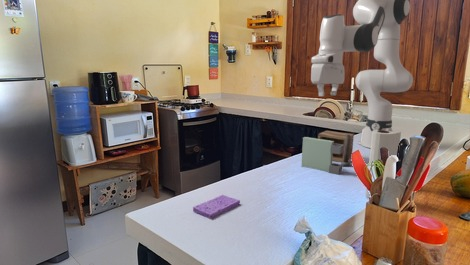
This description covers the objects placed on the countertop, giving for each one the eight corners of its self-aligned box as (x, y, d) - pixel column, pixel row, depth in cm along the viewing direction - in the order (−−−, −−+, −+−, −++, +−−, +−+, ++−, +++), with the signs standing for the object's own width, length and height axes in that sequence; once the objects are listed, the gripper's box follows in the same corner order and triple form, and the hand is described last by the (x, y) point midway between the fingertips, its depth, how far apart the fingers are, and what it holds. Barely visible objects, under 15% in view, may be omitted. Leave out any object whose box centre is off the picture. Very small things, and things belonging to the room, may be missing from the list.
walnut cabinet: (325, 153, 149) (326, 126, 146) (359, 159, 139) (361, 130, 137) (312, 160, 138) (313, 131, 135) (348, 167, 128) (351, 136, 126)
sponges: (192, 213, 89) (192, 206, 88) (222, 199, 98) (222, 193, 98) (210, 220, 84) (210, 214, 84) (240, 205, 93) (240, 199, 93)
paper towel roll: (363, 198, 98) (369, 131, 93) (369, 192, 102) (375, 128, 98) (387, 205, 93) (395, 134, 89) (393, 198, 98) (401, 131, 93)
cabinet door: (304, 164, 132) (306, 136, 129) (342, 172, 122) (344, 142, 120) (300, 166, 129) (301, 138, 126) (338, 174, 119) (340, 144, 117)
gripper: (335, 60, 128) (332, 94, 131) (308, 57, 114) (306, 96, 116) (350, 60, 124) (347, 95, 127) (324, 57, 110) (322, 97, 112)
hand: (327, 95), depth 121 cm, fingers open, 8 cm apart
